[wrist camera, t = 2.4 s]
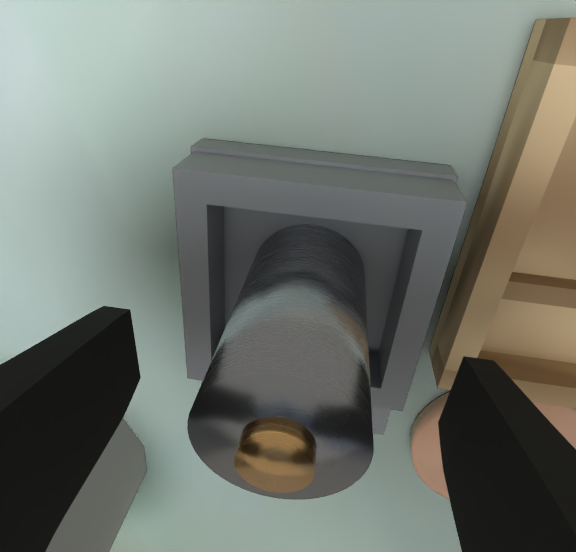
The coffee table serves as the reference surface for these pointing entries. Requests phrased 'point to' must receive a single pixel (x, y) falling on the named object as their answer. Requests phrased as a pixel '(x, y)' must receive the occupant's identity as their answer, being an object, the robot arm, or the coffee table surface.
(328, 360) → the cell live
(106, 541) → the cup
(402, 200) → the cradle
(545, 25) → the tray
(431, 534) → the coffee table surface
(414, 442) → the dish
